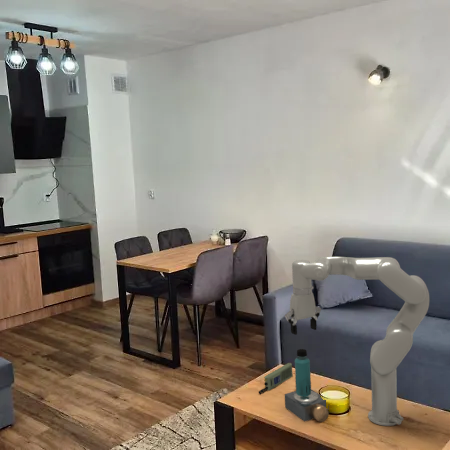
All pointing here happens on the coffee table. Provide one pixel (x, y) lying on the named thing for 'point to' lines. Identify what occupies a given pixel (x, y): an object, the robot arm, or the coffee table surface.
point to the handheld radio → (277, 377)
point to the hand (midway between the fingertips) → (303, 331)
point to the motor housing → (307, 406)
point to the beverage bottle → (302, 373)
